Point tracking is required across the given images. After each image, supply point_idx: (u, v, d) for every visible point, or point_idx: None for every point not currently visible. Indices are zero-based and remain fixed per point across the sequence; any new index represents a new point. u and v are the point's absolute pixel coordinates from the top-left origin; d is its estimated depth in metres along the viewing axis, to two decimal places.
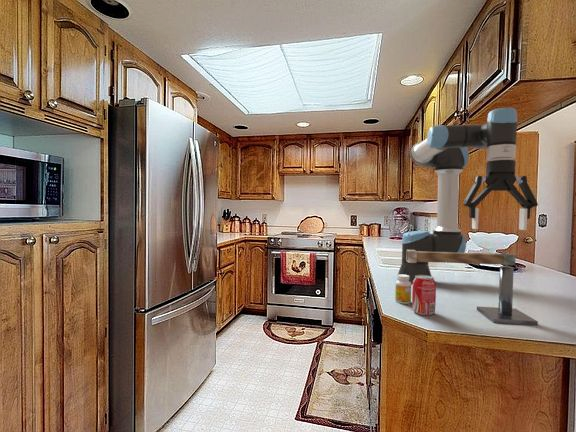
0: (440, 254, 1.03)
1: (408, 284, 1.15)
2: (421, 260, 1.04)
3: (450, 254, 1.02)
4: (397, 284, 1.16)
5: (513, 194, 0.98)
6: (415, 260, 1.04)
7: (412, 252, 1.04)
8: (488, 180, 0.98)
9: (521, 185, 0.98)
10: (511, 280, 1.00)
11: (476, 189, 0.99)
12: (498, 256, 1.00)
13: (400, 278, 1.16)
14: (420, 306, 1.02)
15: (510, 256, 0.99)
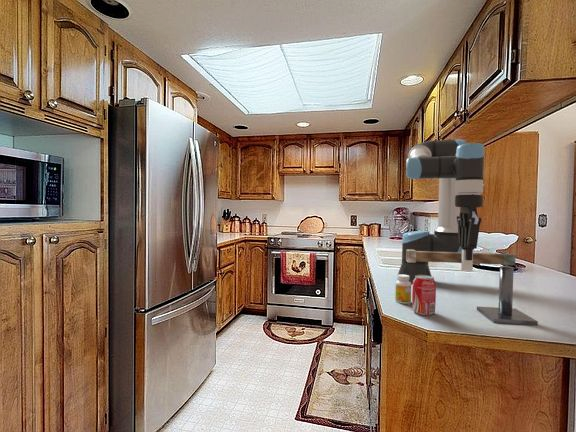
0: (439, 254, 1.03)
1: (408, 284, 1.15)
2: (420, 260, 1.04)
3: (449, 254, 1.03)
4: (397, 284, 1.16)
5: None
6: (414, 260, 1.04)
7: (411, 252, 1.04)
8: None
9: None
10: (511, 280, 1.00)
11: None
12: (498, 256, 1.00)
13: (400, 278, 1.16)
14: (420, 306, 1.02)
15: (510, 256, 0.99)
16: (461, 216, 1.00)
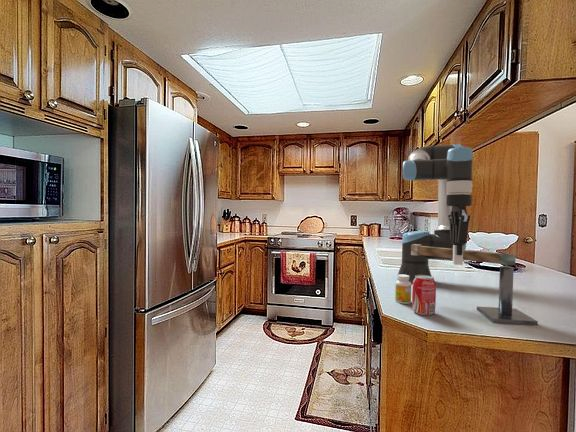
0: (438, 249, 1.14)
1: (408, 284, 1.15)
2: (422, 253, 1.18)
3: (447, 250, 1.12)
4: (397, 284, 1.16)
5: None
6: (416, 253, 1.19)
7: (414, 246, 1.20)
8: (465, 213, 1.04)
9: None
10: (511, 280, 1.00)
11: None
12: (494, 255, 1.02)
13: (400, 278, 1.16)
14: (420, 306, 1.02)
15: (505, 256, 1.00)
16: (452, 214, 1.08)
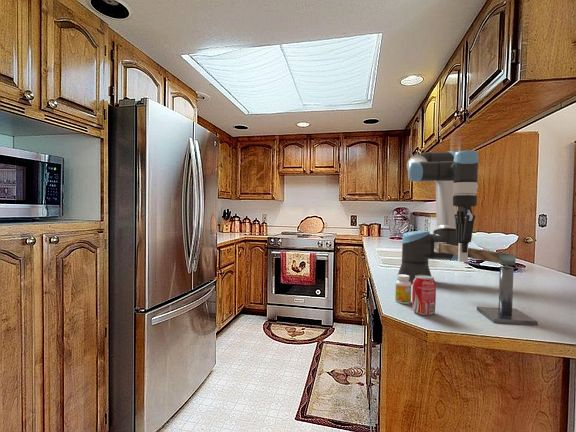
0: (453, 247, 1.20)
1: (408, 284, 1.15)
2: (442, 251, 1.26)
3: None
4: (397, 284, 1.16)
5: None
6: (437, 250, 1.27)
7: (436, 243, 1.28)
8: None
9: None
10: (511, 280, 1.00)
11: None
12: (494, 254, 1.04)
13: (400, 278, 1.16)
14: (420, 306, 1.02)
15: (501, 255, 1.01)
16: (458, 214, 1.14)
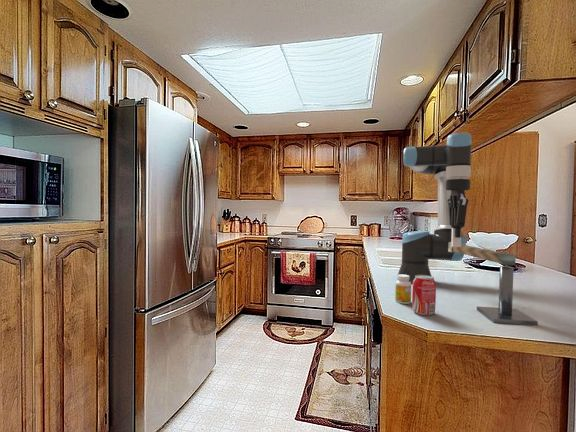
0: (463, 247, 1.21)
1: (408, 284, 1.15)
2: (454, 250, 1.27)
3: (468, 248, 1.18)
4: (397, 284, 1.16)
5: None
6: (451, 250, 1.29)
7: (450, 243, 1.30)
8: None
9: None
10: (511, 280, 1.00)
11: None
12: (495, 254, 1.04)
13: (400, 278, 1.16)
14: (420, 306, 1.02)
15: (500, 255, 1.01)
16: (451, 198, 1.12)
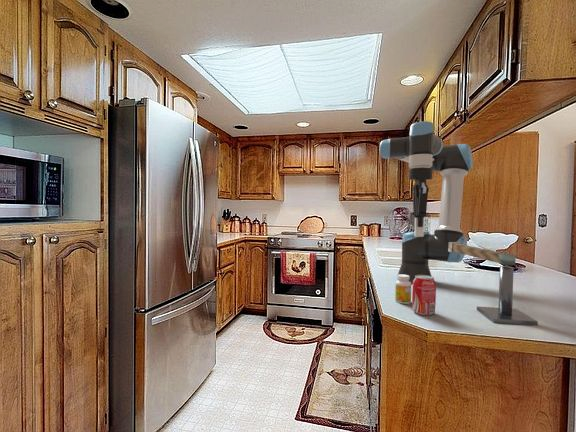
0: (463, 247, 1.21)
1: (408, 284, 1.15)
2: (454, 250, 1.27)
3: (468, 248, 1.18)
4: (397, 284, 1.16)
5: None
6: (451, 250, 1.29)
7: (450, 243, 1.30)
8: (425, 186, 1.07)
9: None
10: (511, 280, 1.00)
11: None
12: (495, 254, 1.04)
13: (400, 278, 1.16)
14: (420, 306, 1.02)
15: (500, 255, 1.01)
16: (414, 188, 1.12)
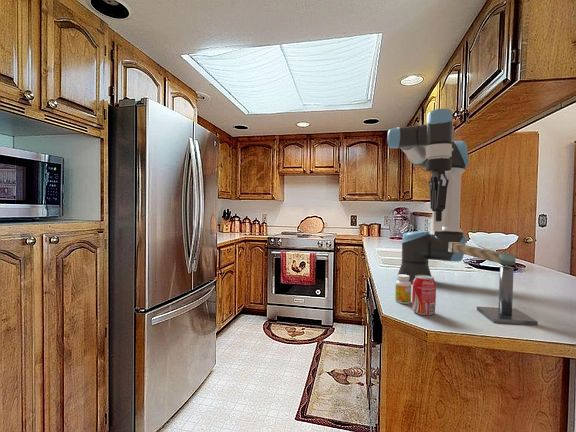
0: (463, 247, 1.21)
1: (408, 284, 1.15)
2: (454, 250, 1.27)
3: (468, 248, 1.18)
4: (397, 284, 1.16)
5: None
6: (451, 250, 1.29)
7: (450, 243, 1.30)
8: (444, 178, 1.01)
9: None
10: (511, 280, 1.00)
11: None
12: (495, 254, 1.04)
13: (400, 278, 1.16)
14: (420, 306, 1.02)
15: (500, 255, 1.01)
16: (432, 180, 1.05)
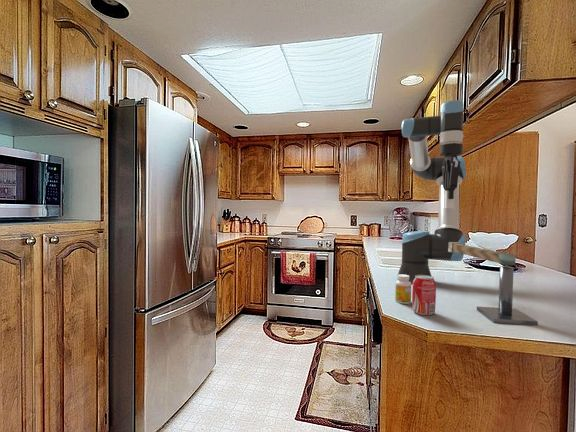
0: (463, 247, 1.21)
1: (408, 284, 1.15)
2: (454, 250, 1.27)
3: (468, 248, 1.18)
4: (397, 284, 1.16)
5: None
6: (451, 250, 1.29)
7: (450, 243, 1.30)
8: (456, 160, 1.15)
9: None
10: (511, 280, 1.00)
11: None
12: (495, 254, 1.04)
13: (400, 278, 1.16)
14: (420, 306, 1.02)
15: (500, 255, 1.01)
16: (445, 163, 1.20)
